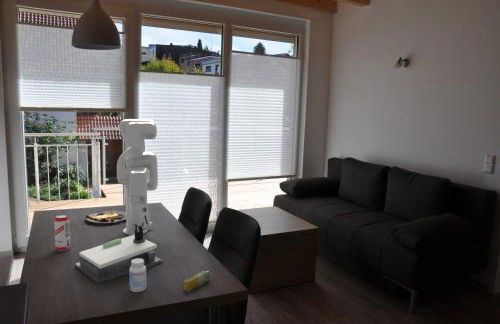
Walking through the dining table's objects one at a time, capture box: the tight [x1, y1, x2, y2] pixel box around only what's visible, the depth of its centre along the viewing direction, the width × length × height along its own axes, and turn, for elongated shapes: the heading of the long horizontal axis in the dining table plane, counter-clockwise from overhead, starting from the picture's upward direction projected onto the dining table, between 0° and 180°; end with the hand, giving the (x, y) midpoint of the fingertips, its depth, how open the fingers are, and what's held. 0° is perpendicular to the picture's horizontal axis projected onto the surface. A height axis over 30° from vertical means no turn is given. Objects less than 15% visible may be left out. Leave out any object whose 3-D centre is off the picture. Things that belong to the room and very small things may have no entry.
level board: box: [78, 234, 158, 269], centre depth 173 cm, size 26×18×3 cm
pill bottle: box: [128, 258, 147, 293], centre depth 152 cm, size 6×6×11 cm
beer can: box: [53, 214, 71, 252], centre depth 189 cm, size 6×6×16 cm
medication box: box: [183, 269, 210, 292], centre depth 158 cm, size 12×3×4 cm, turn 144°
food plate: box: [84, 210, 126, 224], centre depth 238 cm, size 25×23×4 cm
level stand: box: [74, 250, 163, 284], centre depth 174 cm, size 29×21×5 cm
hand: (138, 239), depth 180 cm, fingers closed
